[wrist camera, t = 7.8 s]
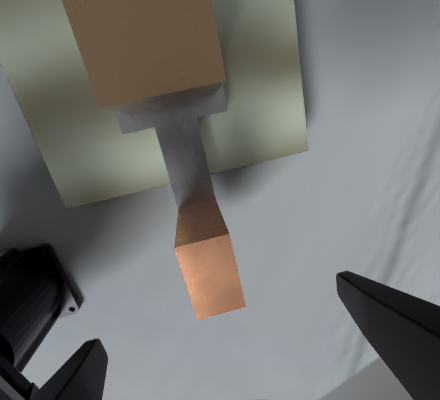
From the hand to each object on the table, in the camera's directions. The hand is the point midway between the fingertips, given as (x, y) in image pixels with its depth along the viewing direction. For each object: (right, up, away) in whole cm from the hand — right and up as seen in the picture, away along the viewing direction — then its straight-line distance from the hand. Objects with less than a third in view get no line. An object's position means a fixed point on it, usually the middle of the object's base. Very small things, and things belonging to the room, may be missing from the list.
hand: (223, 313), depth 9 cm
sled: (-2, +8, +6) cm, 10 cm away
